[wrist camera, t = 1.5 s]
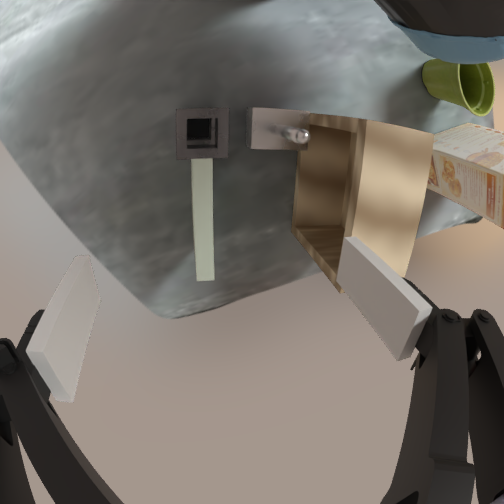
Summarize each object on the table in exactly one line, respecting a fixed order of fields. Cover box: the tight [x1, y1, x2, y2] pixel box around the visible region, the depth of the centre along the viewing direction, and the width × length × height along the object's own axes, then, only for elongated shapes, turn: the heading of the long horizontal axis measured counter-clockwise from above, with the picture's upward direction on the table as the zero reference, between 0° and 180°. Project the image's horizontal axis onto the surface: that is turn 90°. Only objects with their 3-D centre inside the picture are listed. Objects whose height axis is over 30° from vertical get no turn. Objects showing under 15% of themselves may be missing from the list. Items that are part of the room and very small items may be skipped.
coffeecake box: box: [427, 123, 504, 229], centre depth 29 cm, size 15×7×20 cm, turn 111°
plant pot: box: [422, 59, 495, 116], centre depth 28 cm, size 9×9×9 cm
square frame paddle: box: [176, 108, 229, 281], centre depth 28 cm, size 15×4×10 cm, turn 178°
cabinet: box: [246, 107, 434, 293], centre depth 29 cm, size 15×14×14 cm
